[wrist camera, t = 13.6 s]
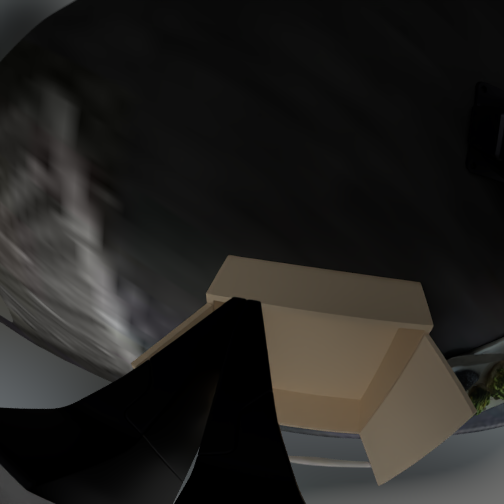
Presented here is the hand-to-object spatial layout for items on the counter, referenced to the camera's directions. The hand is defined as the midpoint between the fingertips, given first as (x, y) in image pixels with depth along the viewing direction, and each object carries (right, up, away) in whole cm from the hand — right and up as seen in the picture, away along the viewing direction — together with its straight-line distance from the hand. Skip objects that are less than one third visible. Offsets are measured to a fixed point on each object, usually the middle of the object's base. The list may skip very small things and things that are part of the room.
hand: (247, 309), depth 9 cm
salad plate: (+28, -13, +17) cm, 35 cm away
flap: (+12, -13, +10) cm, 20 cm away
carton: (+6, -7, +19) cm, 21 cm away
